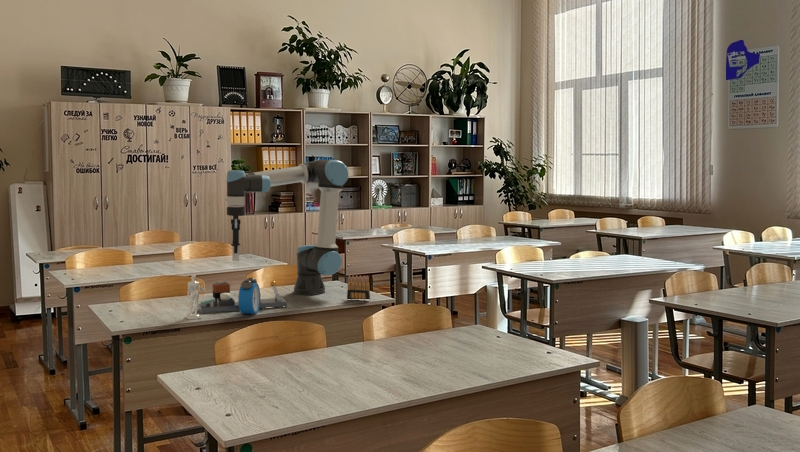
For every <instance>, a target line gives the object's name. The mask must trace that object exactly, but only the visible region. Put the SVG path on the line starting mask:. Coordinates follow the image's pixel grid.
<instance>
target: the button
mask: <svg viewBox="0 0 800 452" xmlns="http://www.w3.org/2000/svg"><path fill="white" fill-rule="evenodd" d="M231 294H232V293H231V292H230V293H221V294H220V301H228V300H231V296H232V295H231Z"/></svg>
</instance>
